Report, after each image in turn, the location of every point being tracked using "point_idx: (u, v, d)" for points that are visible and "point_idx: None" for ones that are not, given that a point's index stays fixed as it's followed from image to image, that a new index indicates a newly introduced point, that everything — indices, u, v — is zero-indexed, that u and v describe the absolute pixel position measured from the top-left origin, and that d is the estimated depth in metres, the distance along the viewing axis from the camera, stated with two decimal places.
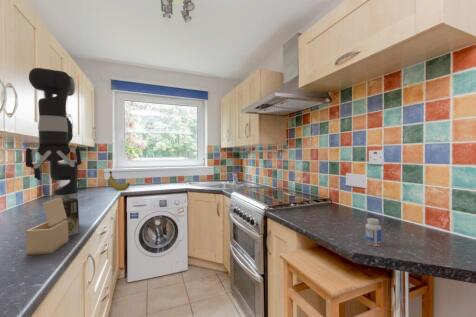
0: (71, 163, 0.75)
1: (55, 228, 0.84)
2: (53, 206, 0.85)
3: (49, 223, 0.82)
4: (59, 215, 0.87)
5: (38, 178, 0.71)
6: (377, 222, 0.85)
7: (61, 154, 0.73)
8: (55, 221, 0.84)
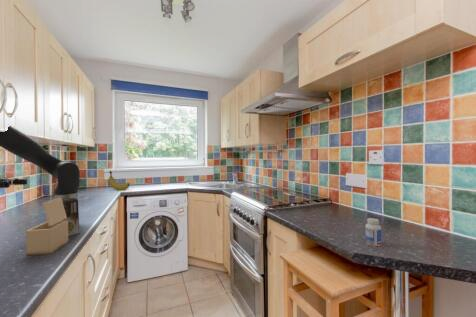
0: None
1: (55, 228, 0.84)
2: (53, 206, 0.85)
3: (49, 223, 0.82)
4: (59, 215, 0.87)
5: (25, 184, 0.88)
6: (377, 222, 0.85)
7: None
8: (55, 221, 0.84)
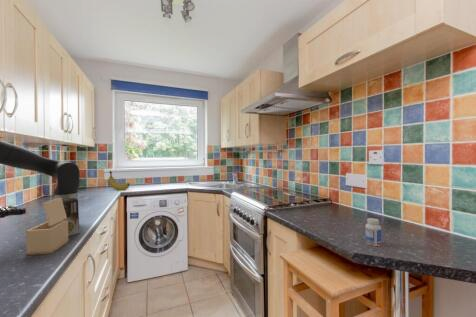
0: None
1: (55, 228, 0.84)
2: (53, 206, 0.85)
3: (49, 223, 0.82)
4: (59, 215, 0.87)
5: None
6: (377, 222, 0.85)
7: None
8: (55, 221, 0.84)
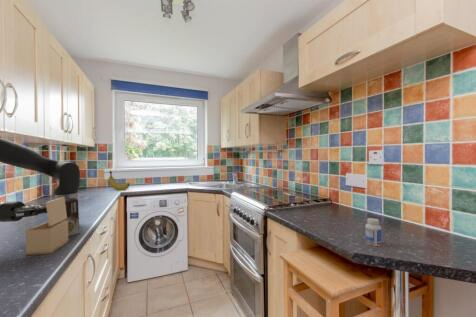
0: None
1: (55, 228, 0.84)
2: (56, 206, 0.85)
3: (50, 223, 0.82)
4: (60, 215, 0.87)
5: None
6: (377, 222, 0.85)
7: None
8: (55, 221, 0.84)
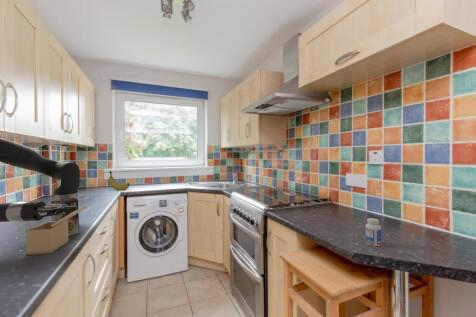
0: None
1: (55, 228, 0.84)
2: (74, 214, 0.87)
3: (53, 225, 0.82)
4: (66, 219, 0.88)
5: None
6: (377, 222, 0.85)
7: None
8: (58, 223, 0.85)
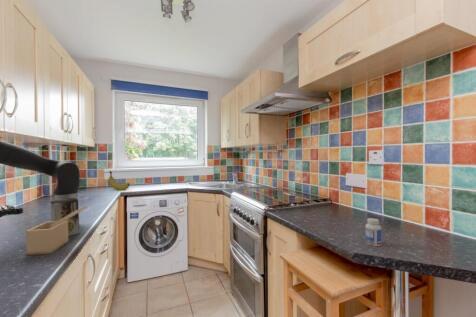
0: None
1: (55, 228, 0.84)
2: (74, 214, 0.87)
3: (53, 225, 0.82)
4: (66, 219, 0.88)
5: None
6: (377, 222, 0.85)
7: None
8: (58, 223, 0.85)
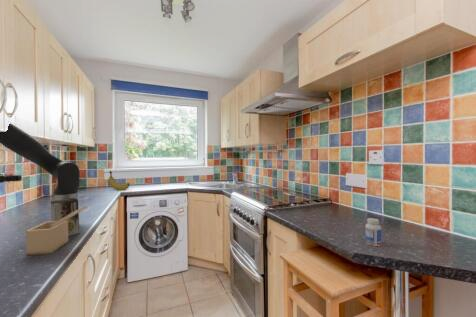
0: (2, 181, 0.82)
1: (55, 228, 0.84)
2: (74, 214, 0.87)
3: (53, 225, 0.82)
4: (66, 219, 0.88)
5: (19, 180, 0.84)
6: (377, 222, 0.85)
7: None
8: (58, 223, 0.85)
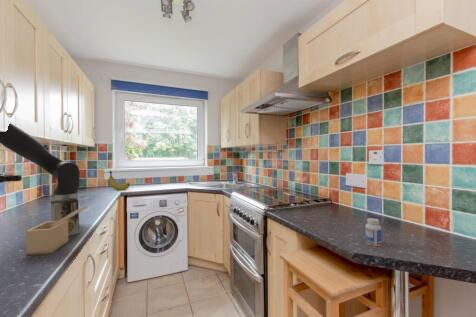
0: (2, 181, 0.82)
1: (55, 228, 0.84)
2: (74, 214, 0.87)
3: (53, 225, 0.82)
4: (66, 219, 0.88)
5: (19, 180, 0.84)
6: (377, 222, 0.85)
7: None
8: (58, 223, 0.85)
